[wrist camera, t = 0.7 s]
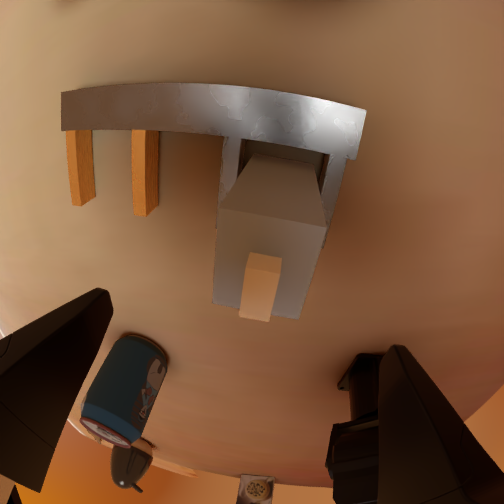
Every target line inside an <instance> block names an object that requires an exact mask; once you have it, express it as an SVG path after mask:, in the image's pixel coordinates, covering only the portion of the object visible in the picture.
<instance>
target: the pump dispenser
mask: <svg viewBox="0 0 504 504" xmlns="http://www.w3.org/2000/svg"><path fill="white" fill-rule="evenodd" d="M152 460H153V457H152V448H151V446H150V445H149V444H148V443H147V442H146V441H145V440H143V439H141V438H139V439H137V440H136V441H135V442H133V443H132V444H131V447H130V448H123V447H120V446H117V445H113V449H112V454H111V462H110V469H111V477H112V480H113V482H114V484H116V485H117V486H118V487H120V488H122V489H129V488H131V487H133V488H134V489H135V490H137V491H138V492H139V493H142V492H143V490H141V489H140V487H139V486H137V485H136V483H138V482H139V481H140V480H141V478H142V477H143V476H144V475H145V473H146V472H147V470H148V469H149V467H150V465H151V463H152Z"/></svg>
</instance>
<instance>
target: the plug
mask: <svg viewBox="0 0 504 504" xmlns="http://www.w3.org/2000/svg"><path fill="white" fill-rule="evenodd" d="M326 229H327V226H326V221H325V216H324V211H323V206H322V201H321V196H320V192H319V187H318V183H317V178H316V174H315V170H314V165H313V164H309V163H305V162H300V161H294V160H289V159H284V158H278V157H272V156H266V155H260V154H253V156H252V157H251V159H250V160H249V162H248V163H247V165H246V166H245V168H244V169H243V171H242V172H241V174H240V175H239V177H238V178H237V180H236V181H235V183H234V185H233V186H232V188H231V189H230V191H229V192H228V194H227V195H226V197H225V199H224V200H223V202H222V203H221V205H220V206H219V209H218V221H217V234H216V248H215V263H214V280H213V298H212V303H213V304H218V305H223V306H228V307H233V308H238V309H240V310H239V317H244V318H249V319H254V320H259V321H265V322H269V319H270V315H275V316H280V317H286V318H292V319H299V317H300V314H301V311H302V308H303V305H304V302H305V298H306V295H307V292H308V289H309V286H310V283H311V280H312V276H313V273H314V270H315V267H316V263H317V260H318V257H319V253H320V250H321V247H322V243H323V240H324V236H325V233H326Z"/></svg>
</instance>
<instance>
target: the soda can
mask: <svg viewBox="0 0 504 504" xmlns="http://www.w3.org/2000/svg"><path fill="white" fill-rule="evenodd" d="M166 373H167V363H166V358H165V355H164V353H163V351H162V350H161V349H160V348H159V347H158V346H157V345H156V344H155V343H153V342H152V341H150V340H148V339H146V338H144V337H141V336H137V335H129V336H126V337H124V338H121V339H119V340H117V341H116V342H115V344H114V345H113V347H112V349H111V350H110V352H109V354H108V356H107V357H106V359H105V361H104V363H103V364H102V366H101V368H100V370H99V372H98V373H97V375H96V377H95V379H94V381H93V382H92V384H91V386H90V388H89V390H88V392H87V394H86V395H85V397H84V399H83V401H82V403H81V418H80V423H81V424H82V425H83V426H84V427H85V428H86V429H87V430H89V431H90V432H92V433H93V434H95V435H97V436H98V437H100V438H102V439H104V440H106V441H108V442H110V443H112V444H114V445H117V446H120V447H123V448H130V447H131V444H132V443H133V442H135V441H136V440H137V439H139V438H140V437H141V435H142V432H143V430H144V427H145V425H146V422H147V420H148V417H149V415H150V412H151V410H152V407H153V405H154V402H155V400H156V397H157V395H158V392H159V390H160V387H161V385H162V382H163V380H164V377H165V375H166Z"/></svg>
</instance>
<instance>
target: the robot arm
mask: <svg viewBox="0 0 504 504" xmlns="http://www.w3.org/2000/svg"><path fill="white" fill-rule="evenodd" d="M112 316H113V306H112V302H111V298H110V294H109V292H108V291H107V290H105V289H102V288H95V289H93V290H91V291H89V292H87V293H85V294H83V295H81V296H79V297H77V298H76V299H74V300H72V301H70V302H68V303H66V304H64V305H62V306H60V307H59V308H57V309H55V310H53V311H51V312H49V313H47V314H46V315H44V316H42V317H40V318H38V319H36V320H35V321H33V322H31V323H29V324H27V325H26V326H24V327H22V328H20V329H18V330H17V331H15V332H13V334H10V335H8V336H6V337H4V338H3V339H1V340H0V504H22V502H21V499H20V497H19V494H18V491H17V488H16V485H15V482H16V483H18V484H21V485H23V486H25V487H27V488H29V489H31V490H34V491H36V492H38V493H40V492H41V489H42V486H43V483H44V480H45V477H46V474H47V471H48V468H49V465H50V462H51V459H52V457H53V454H54V451H55V448H56V446H57V443H58V440H59V438H60V435H61V433H62V430H63V428H64V425H65V423H66V420H67V418H68V416H69V413H70V411H71V409H72V406H73V404H74V402H75V400H76V397H77V395H78V393H79V391H80V389H81V387H82V384H83V382H84V380H85V378H86V376H87V374H88V372H89V370H90V368H91V366H92V364H93V362H94V360H95V358H96V355H97V353H98V351H99V349H100V346H101V343H102V341H103V338H104V336H105V333H106V330H107V328H108V325H109V323H110V321H111V318H112ZM338 390H343V391H349V395H350V411H351V421H349V422H345V423H340V424H339V423H336V424H333V428H332V431H331V436H330V442H329V447H328V453H327V458H326V463H325V467H326V468H327V469H328V472H329V475H330V478H331V479H332V480H333V499H334V501H335V503H336V504H504V473H503V472H502V471H501V469H500V468H499V467H498V466H497V464H496V463H495V462H494V461H493V460H492V458H490V456H489V455H488V454H487V452H486V451H485V450H484V449H483V447H482V446H481V445H480V444H479V442H478V441H477V440H476V438H475V437H474V436H473V434H472V433H471V432H470V430H469V429H468V427H467V426H466V425H465V424H464V422H463V420H462V419H461V418H460V416H459V415H458V414H457V412H456V411H455V410H454V408H453V407H452V405H451V404H450V403H449V401H448V400H447V399H446V397H445V396H444V395H443V393H442V392H441V391H440V390H439V388H438V387H437V386H436V384H435V383H434V382H433V381H432V379H431V378H430V377H429V375H428V374H427V373H426V372H425V370H424V369H423V368H422V367H421V365H420V364H419V363H418V362H417V360H416V359H415V358H414V357H413V355H412V354H411V353H410V352H409V350H408V349H407V348H406V347H405V346H403V345H395V344H394V345H392V346H391V347H390V348H389V350H388V351H387V353H386V354H385V356H378V355H367V354H360V355H358V356H357V357H356V358H355V360H354V361H353V363H352V364H351V366H350V367H349V369H348V371H347V372H346V374H345V375H344V377H343V378H342V380H341V381H340V383H339V384H338Z"/></svg>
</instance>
